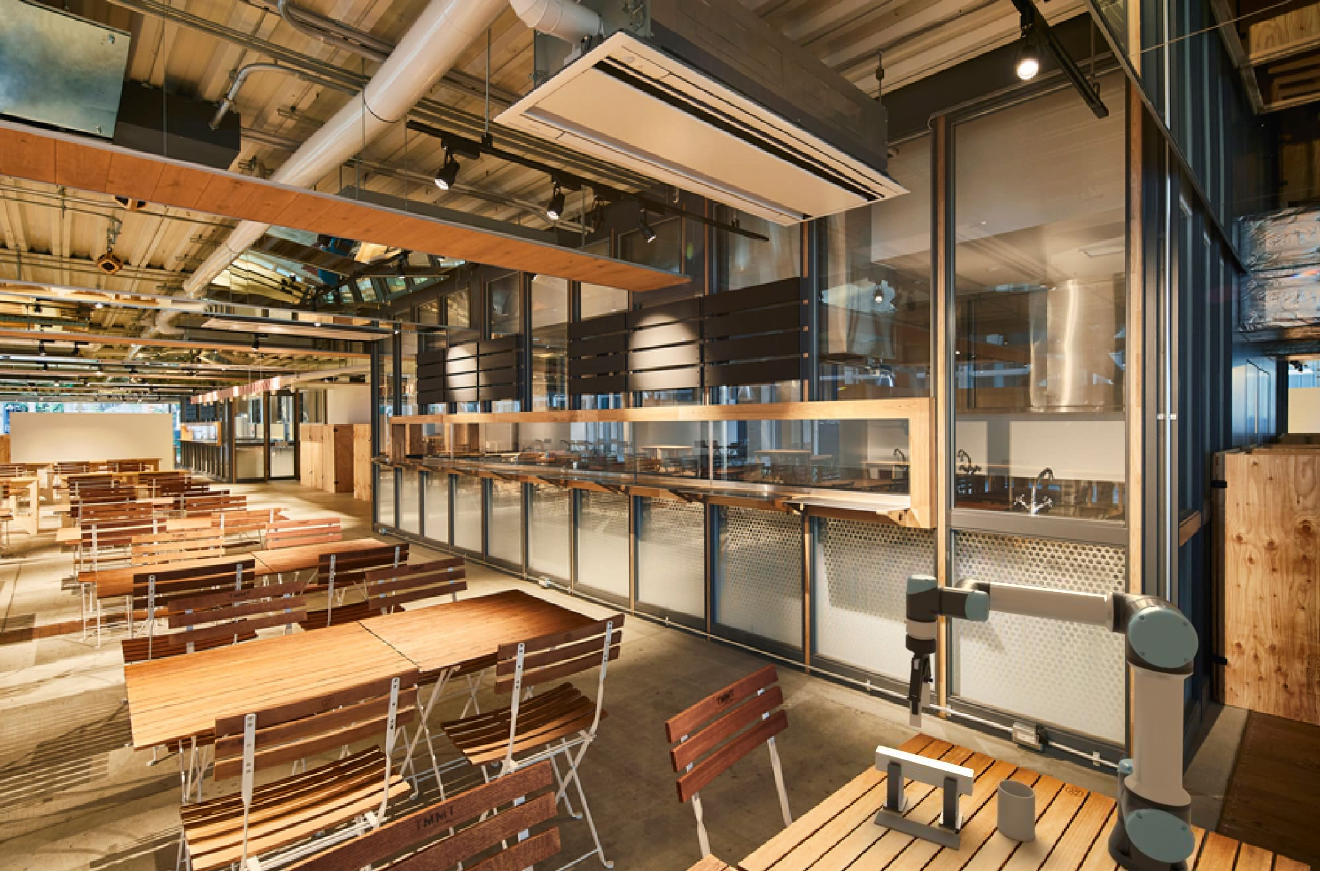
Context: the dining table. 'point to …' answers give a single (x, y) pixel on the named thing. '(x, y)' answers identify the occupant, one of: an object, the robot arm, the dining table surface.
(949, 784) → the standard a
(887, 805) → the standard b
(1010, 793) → the grey oval cup
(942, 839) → the plank
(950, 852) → the dining table surface
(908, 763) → the rail
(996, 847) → the dining table surface
